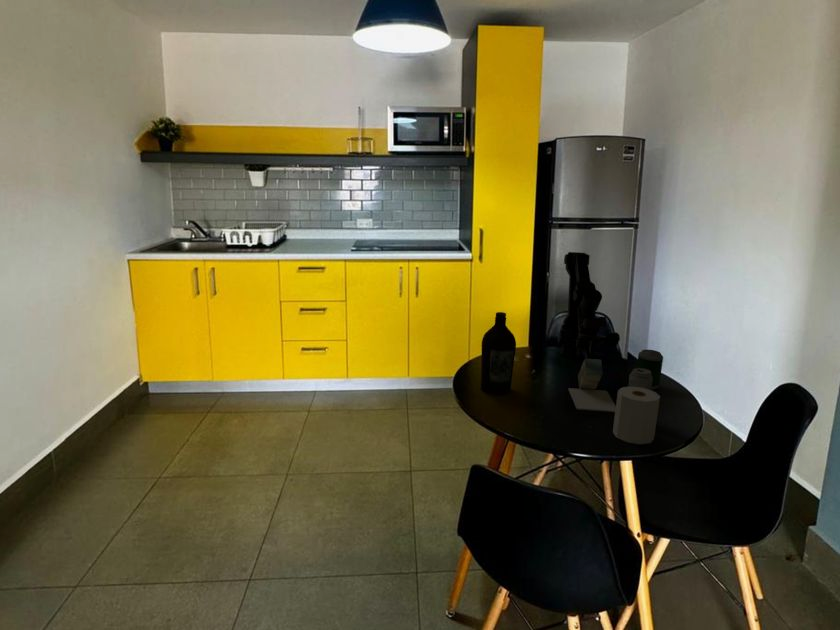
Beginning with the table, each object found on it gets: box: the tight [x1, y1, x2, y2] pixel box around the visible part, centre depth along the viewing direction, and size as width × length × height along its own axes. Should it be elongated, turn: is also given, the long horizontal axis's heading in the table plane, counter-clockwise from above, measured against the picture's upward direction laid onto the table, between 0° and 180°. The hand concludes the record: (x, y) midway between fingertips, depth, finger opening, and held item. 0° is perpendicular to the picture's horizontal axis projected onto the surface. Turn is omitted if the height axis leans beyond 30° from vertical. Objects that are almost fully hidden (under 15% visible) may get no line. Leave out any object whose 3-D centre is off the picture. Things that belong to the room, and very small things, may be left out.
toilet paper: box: [612, 386, 661, 445], centre depth 151 cm, size 10×10×12 cm
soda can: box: [636, 349, 664, 391], centre depth 187 cm, size 8×8×12 cm
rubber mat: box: [567, 387, 616, 413], centre depth 176 cm, size 16×12×1 cm
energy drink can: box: [627, 367, 653, 391], centre depth 160 cm, size 6×6×15 cm
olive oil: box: [480, 311, 517, 396], centre depth 178 cm, size 11×11×25 cm
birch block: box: [577, 358, 604, 390], centre depth 181 cm, size 5×5×11 cm
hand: (589, 361), depth 182 cm, fingers closed
